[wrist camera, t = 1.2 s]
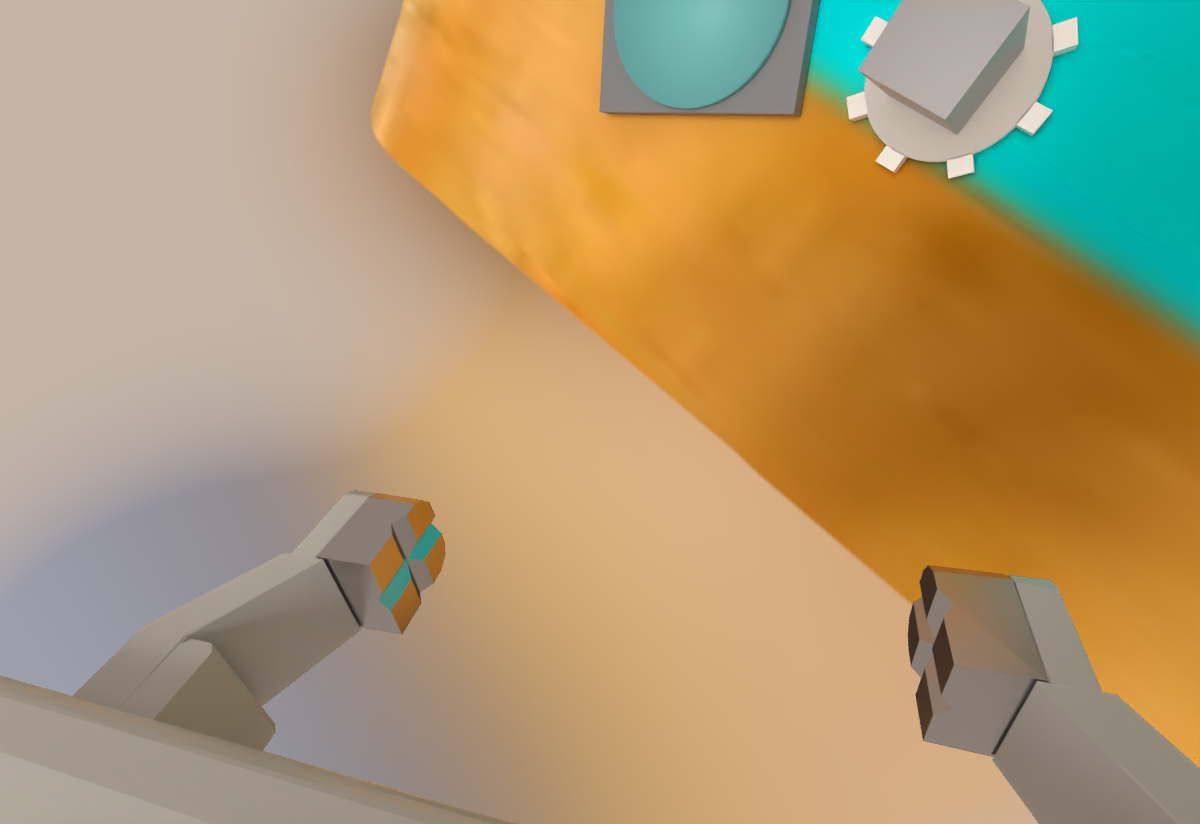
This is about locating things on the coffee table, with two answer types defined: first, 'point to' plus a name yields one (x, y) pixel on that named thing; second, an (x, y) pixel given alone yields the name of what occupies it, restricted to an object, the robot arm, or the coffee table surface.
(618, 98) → the gear board
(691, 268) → the coffee table surface
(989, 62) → the loose gear
